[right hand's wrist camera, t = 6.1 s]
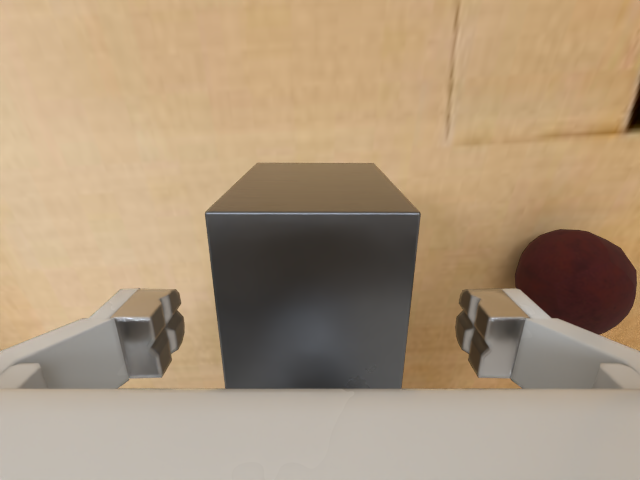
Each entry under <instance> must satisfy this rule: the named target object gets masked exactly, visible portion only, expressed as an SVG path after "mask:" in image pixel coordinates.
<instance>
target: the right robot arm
mask: <svg viewBox="0 0 640 480" xmlns="http://www.w3.org/2000/svg"><path fill="white" fill-rule="evenodd" d="M180 304H181V300H180V295H179V292H178V291H177V290H176V289H140V288H133V289H120V290H119V291H118V292H117V293H116V294H115V295H114V296H112V297H111V298H110V299H109V300H108V301H107V302H106V303H105V304H104V305H103V306H101V307H100V308H99V309H98V310H97V311H96V312H95V313H94V314H93V315H91V316H90V317H89V318H82V319H80V320H77V321H75V322H72V323H70V324H67V325H65V326H62V327H60V328H57V329H55V330H52V331H50V332H47V333H45V334H42V335H40V336H37V337H35V338H32V339H30V340H27V341H25V342H22V343H20V344H17V345H15V346H12V347H9V348H7V349H4V350H2V351H0V480H640V351H638V350H635V349H633V348H630V347H628V346H625V345H623V344H620V343H618V342H615V341H613V340H610V339H608V338H605V337H603V336H600V335H598V334H595V333H593V332H590V331H588V330H585V329H583V328H580V327H578V326H575V325H573V324H570V323H568V322H565V321H563V320H560V319H558V318H551V317H550V316H549V315H547V314H546V313H545V312H544V311H543V310H542V309H541V308H540V307H539V306H538V305H536V304H535V303H534V302H533V301H532V300H531V299H530V298H529V297H528V296H527V295H525V294H524V293H523V292H522V291H521V290H520V289H516V288H510V289H466V290H462V292H461V295H460V299H459V304H460V306H461V308H462V309H463V311H462V312H461V313H460V314H459V315H458V316H457V318H456V326H455V329H456V337H457V341H458V344H459V345H460V347H461V349H462V350H464V351H465V352H467V353H468V354H469V358H468V361H469V363H470V364H471V366H472V368H473V369H474V371H475V373H476V374H477V376H478V378H511V380H512V381H513V382H515V383H516V384H517V385H519V386H520V387H521V388H523V389H117V388H119V387H120V386H122V385H123V384H124V383H126V382H127V381H128V380H129V378H161V377H162V376H163V375H164V373H165V371H166V369H167V368H168V366H169V364H170V363H171V361H172V358H171V354H172V353H173V352H175V351H176V350H178V349H179V347H180V345H181V343H182V341H183V336H184V318H183V316H182V315H181V314H180V313H179V312H178V311H177V309H178V308H179V306H180Z"/></svg>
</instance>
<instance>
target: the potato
mask: <svg viewBox="0 0 640 480" xmlns="http://www.w3.org/2000/svg"><path fill="white" fill-rule="evenodd" d="M515 285H516V289H520V290H521V291H522V292H523V293H524V294H525V295H527V296H528V297H529V298H530V299H531V300H532V301H533V302H534V303H535V304H536V305H538V306H539V307H540V308H541V309H542V310H543V311H544V312H545V313H546V314H547V315H549V316H550V317H551V318H558V319H560V320H563V321H565V322H568V323H570V324H573V325H575V326H578V327H580V328H583V329H585V330H588V331H590V332H593V333H595V334H598V335H599V334H602V333H605V332H607V331H608V330H610V329H612V328H613V327H615V326H617V325H618V324H619V323H620V322H621V321H622V320H623V319H624V318H625V317H626V316H627V315H628V313H629V312H630V310H631V308H632V306H633V304H634V300H635V296H636V286H637V277H636V269H635V268H634V266H633V265H632V264H631V262H630V261H629V259H628V258H627V256H626V255H625V253H624V252H623V251H622V249H621V248H620V247H618V246H616V245H614V244H613V243H611V242H609V241H608V240H606V239H603V238H601V237H599V236H597V235H594V234H592V233H590V232H586V231H581V230H563V229H560V230H555V231H552V232H549V233H546V234H543V235H540V236H539V237H538V238H536V239H535V240H533V241H532V242H531V243H530V244H529V245H528V246H527V248H526V249H525V250H524V252H523V253H522V255H521V258H520V261H519V264H518V267H517V270H516V273H515Z"/></svg>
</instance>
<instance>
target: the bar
mask: <svg viewBox="0 0 640 480" xmlns="http://www.w3.org/2000/svg"><path fill="white" fill-rule="evenodd" d="M420 216H421V214H420V212H419V211H418V210H417V209H416V208H415V207H414V205H413V204H412V203H411V202H410V201H409V200H408V199H407V198H406V197H405V196H404V195H403V194H402V193H401V192H400V191H399V190H398V188H397V187H396V186H395V185H394V184H393V183H392V182H391V181H390V180H389V179H388V178H387V177H386V176H385V175H384V174H383V172H382V171H381V170H380V169H379V168H378V167H377V166H376V165H375V164H374V163H257V164H256V165H254V166H253V167H252V168H251V169H250V170H249V171H248V172H247V173H246V174H245V175H244V176H243V177H242V178H241V179H240V180H239V181H238V182H236V183H235V184H234V185H233V186H232V187H231V188H230V189H229V190H228V191H227V192H226V193H225V194H224V195H223V196H222V197H221V198H220V199H219V200H217V201H216V202H215V203H214V204H213V205H212V206H211V207H210V208H209V209H208V210H207V211H206V212H205V218H206V227H207V236H208V244H209V253H210V261H211V270H212V278H213V287H214V295H215V304H216V313H217V321H218V330H219V338H220V347H221V355H222V364H223V372H224V381H225V389H401V388H402V379H403V370H404V361H405V352H406V342H407V333H408V324H409V315H410V306H411V297H412V288H413V279H414V270H415V261H416V252H417V243H418V234H419V225H420Z"/></svg>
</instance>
